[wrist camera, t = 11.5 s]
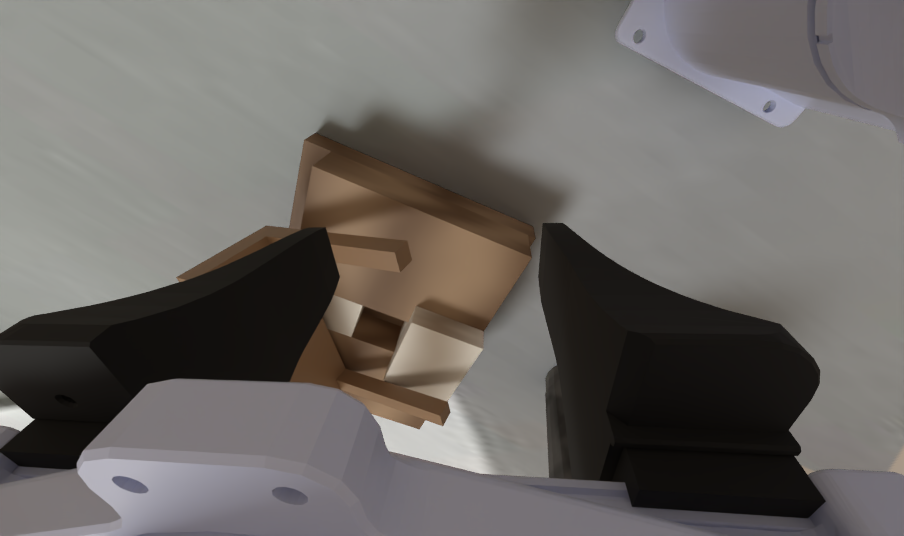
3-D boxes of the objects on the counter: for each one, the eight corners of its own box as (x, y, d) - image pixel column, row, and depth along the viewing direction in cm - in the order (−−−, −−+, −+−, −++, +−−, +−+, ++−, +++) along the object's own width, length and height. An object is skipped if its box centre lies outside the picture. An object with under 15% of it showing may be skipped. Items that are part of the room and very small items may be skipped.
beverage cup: (638, 364, 28) (844, 838, 12) (591, 415, 32) (695, 823, 16) (552, 338, 28) (642, 802, 11) (515, 394, 32) (540, 796, 15)
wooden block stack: (533, 226, 23) (543, 276, 18) (431, 389, 32) (422, 449, 28) (315, 133, 21) (265, 162, 16) (277, 336, 30) (239, 391, 26)
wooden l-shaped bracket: (407, 240, 16) (329, 314, 12) (450, 412, 22) (407, 493, 18) (266, 225, 20) (176, 277, 16) (337, 374, 26) (284, 434, 23)
